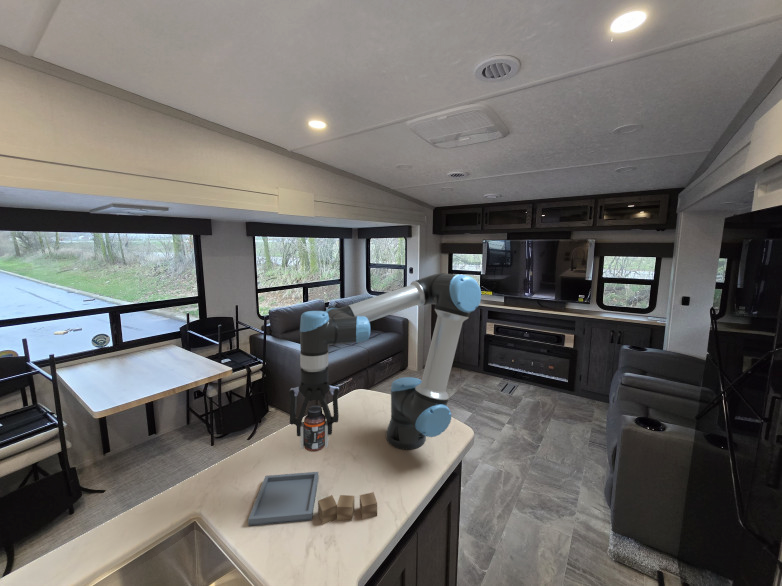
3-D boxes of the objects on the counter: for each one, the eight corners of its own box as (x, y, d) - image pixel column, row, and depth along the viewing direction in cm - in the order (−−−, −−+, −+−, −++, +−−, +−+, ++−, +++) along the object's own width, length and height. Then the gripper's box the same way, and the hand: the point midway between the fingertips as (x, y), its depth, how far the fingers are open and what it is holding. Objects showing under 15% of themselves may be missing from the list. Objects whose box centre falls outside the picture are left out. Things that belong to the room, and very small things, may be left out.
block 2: (354, 508, 86) (354, 495, 86) (351, 521, 82) (351, 507, 82) (340, 508, 86) (339, 495, 86) (337, 520, 82) (336, 506, 82)
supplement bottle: (320, 454, 85) (320, 415, 84) (300, 451, 86) (299, 412, 85) (328, 441, 91) (328, 405, 90) (309, 439, 92) (309, 402, 91)
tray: (318, 477, 98) (318, 471, 98) (311, 520, 82) (311, 513, 82) (265, 481, 96) (265, 475, 96) (248, 526, 80) (248, 519, 80)
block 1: (332, 508, 86) (332, 494, 86) (337, 518, 83) (337, 505, 83) (318, 513, 84) (317, 500, 84) (322, 525, 81) (322, 511, 81)
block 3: (373, 505, 88) (373, 492, 87) (377, 516, 84) (377, 503, 83) (359, 508, 86) (359, 495, 86) (362, 520, 83) (362, 506, 82)
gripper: (349, 361, 91) (348, 436, 94) (282, 363, 89) (283, 439, 91) (348, 371, 84) (348, 451, 86) (275, 372, 81) (277, 455, 84)
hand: (314, 445), depth 89 cm, fingers closed on supplement bottle, 6 cm apart
